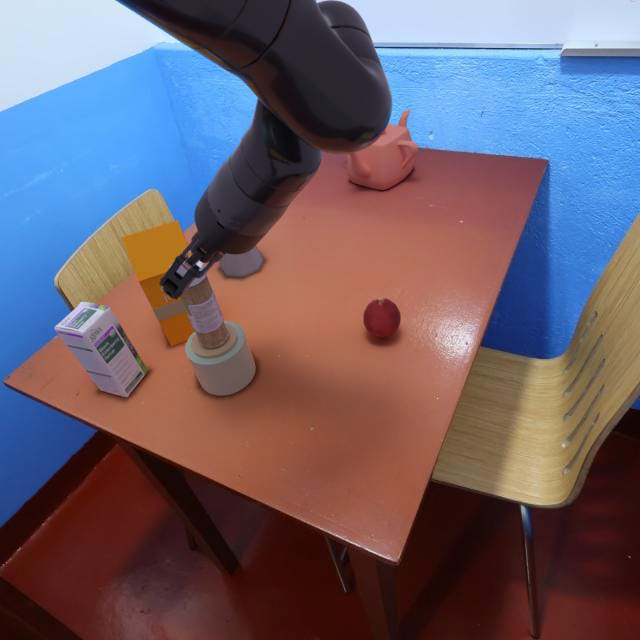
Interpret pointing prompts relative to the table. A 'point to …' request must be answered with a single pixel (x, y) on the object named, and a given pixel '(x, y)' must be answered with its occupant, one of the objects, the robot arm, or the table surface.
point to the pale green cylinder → (222, 362)
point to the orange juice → (160, 275)
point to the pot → (384, 158)
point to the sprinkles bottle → (204, 312)
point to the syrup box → (102, 348)
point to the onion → (381, 317)
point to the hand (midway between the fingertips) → (191, 272)
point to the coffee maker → (241, 263)
